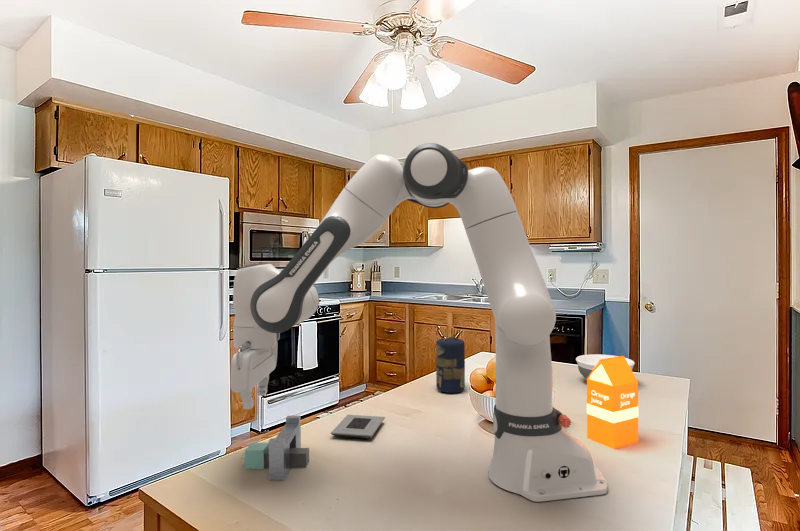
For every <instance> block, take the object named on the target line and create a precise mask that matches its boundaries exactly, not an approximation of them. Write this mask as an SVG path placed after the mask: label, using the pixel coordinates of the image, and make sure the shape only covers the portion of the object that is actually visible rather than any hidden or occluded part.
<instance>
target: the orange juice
mask: <svg viewBox="0 0 800 531" xmlns="http://www.w3.org/2000/svg"><path fill="white" fill-rule="evenodd" d="M618 356H619V355H618ZM625 358H626V357H625V355H621V356H619V357H613V358H606V359H600V360H599V362H598V363H597V365H596V366H595V368H594V369H593V371H592V372H591V374H590V375H589V377H588V378H587V379H586V418H587V419H586V438H587V439H588V440H591V441H594V442H596V443H598V444H601V445H602V446H605V447H607V448H610V449H613V450H615V449H618V448H623V447H626V446H628V445H632V444H635V443H639V381H638V380H637V378H636V376H635V374H634V372H633V369H632V370H631V368H630V367H629V365H628V363H627V361H626V359H625Z"/></svg>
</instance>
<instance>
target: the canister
mask: <svg viewBox="0 0 800 531" xmlns="http://www.w3.org/2000/svg"><path fill="white" fill-rule="evenodd" d="M465 344H466V343H465V341H464V340H463V339H460V338H458V337H454V336H449V337H446V338H440V339H438V340H437V341H436V344H435V350H436V351H435V353H436V356H435V359H436V360H435V365H436V373H435V376H436V378H435V379H436V380H435V383H436V389H437V390H438V391H440V392H441V393H442V392H443V393H448V394H450V393H451V394H452V393H453V394H456V393H461V392H463V391H464V390H465V388H466V387H465V386H466V385H465V384H466V382H465V380H466V378H465V377H466V376H465V375H466V374H465V372H466V371H465V370H466V369H465V368H466V367H465V366H466V364H465V363H466V362H465V361H466V358H465V357H466V356H465V355H466V354H465V353H466V352H465V351H466V350H465V349H466V348H465V347H466V345H465Z"/></svg>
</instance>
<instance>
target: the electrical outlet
mask: <svg viewBox="0 0 800 531" xmlns="http://www.w3.org/2000/svg"><path fill="white" fill-rule="evenodd" d="M385 417H386V416H376V415H375V416H374V415H361V414H359V415H358V414H347V415H346V416H345V417H344V418H343V419H342V420H341V421H340V422H339V423H338V425H337V426H335V428H334V429H333V430H332V431H331V432H330V434H331V435H332V436H335V437H345V438H346V437H347V438H361V439H362V438H364V439H372V437H373V436H374V435H375V433H376V432H377V430H378V429H379V427H380V426H381V424H382V423H383V421H384V420H386V418H385Z"/></svg>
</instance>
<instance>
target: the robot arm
mask: <svg viewBox="0 0 800 531" xmlns="http://www.w3.org/2000/svg"><path fill="white" fill-rule="evenodd" d="M406 200H407V201H409V202H411V203H414V204H418V205H419V206H420V205H421V207H425V208H429V209H439V208H440V209H441V208H443V207H446V206H447V205H449V204H451V205H452V206H454V207H455V209H456V211H457V212H458V214H459V217H460V219H461V221H462V225H463V228H464V230H465V233H466V236H467V238H468V242H469V245H470V248H471V251H472V254H473V257H474V259H475V262H476V265H477V267H478V271H479V274H480V278H481V280H482V284H483V287H484V291H485V293H486V296H487V299H488V302H489V305H490V308H491V312H492V315H493V318H494V321H495V322H494V324H495V325H494V326H495V329H494V330H495V332H494V333H495V337H494V338H495V339H494V340H495V345H494V346H495V404H494V406H493V413H492V415H493V416H492V418H493V420H492V421H493V422H492V423H493V424H492V425H493V426H492V428H493V434H494V443H493V451H492V452H493V453H492V456H491V457H492V458H491V462H490V465H489V470H488V472H487V475H488V478H489V480H490V481H491V482H492V483H493V484H494V485H496V486H497V487H498V488H501V489H502V490H506V491H507V492H511V493H515V494H516V495H517V494H518V495H520V496H523V497H524V498H526V499H528V500H530V501H532V502H537V503H538V502H539V503H541V502H548V501H556V500H557V501H558V500H565V499H576V498H583V497H591V496H602V495H605V494H607V493H608V490H609V488H608V487H609V486H608V481H607V478H606V477H605V476H604V474H603V473H602V472H601V471H600V470H599V469H598V468H597V467H596V466H595V463H594V460H593V457H592V454H591V452H590V450H589V449H588V448H587V446H585V444H584V443H583V442H581V440H579V439H578V438H577V437H576V436H575V435H573V434H572V433H570V432H569V431H568V430H566V429H565V428H570V426H571V425H572V420H571V419H570V417H569V416H567V415H566V414H563V413H562V412H561V411H560V410H559V409H556V408H555V407H554V406H553V404H554V402H553V400H554V398H553V394H554V392H553V390H554V389H553V387H554V386H553V384H554V382H553V380H554V378H553V365H552V352H551V341H550V340H551V338H550V337H551V336H550V335H551V333H552V331H553V330H554V327H555V324H556V321H557V313H556V309H555V305H554V303H553V300H552V297H551V295H550V292H549V290H548V286H547V284H546V282H545V280H544V276H543V274H542V272H541V270H540V267H539V264H538V262H537V259H536V258H535V256H534V255H535V254H534V252H533V250H532V248H531V244H530V242H529V239H528V237H527V236H528V235H527V233H526V231H525V228H524V225H523V223H522V220H521V217H520V214H519V211H518V209H517V205H516V203H515V200H514V198H513V196H512V194H511V192H510V190H509V187H508V185H506V182H505V181H504V179H503V177H502V176H501V174H500V172H498V170H496V169H495V168H493V167H490V166H478V167H474V168H471V169H469V168H468V164H466V163H465V162H464V161H463V160H462V159H460V158H459V157H458V156H457V155H456V154H454V153H453V151H452V150H449V149H448V148H447V147H445V146H443V145H441V144H438V143H435V142H426V143H423V144H420V145H418V146H416V147H415V148H413V149H412V150H411V151H410V152H409V153H408V154H407V156H406V158H405V160H404V162H402V161H400V160H398V159H397V158H396V157H393V156H391V155H388V154H384V153H383V154H382V153H381V154H379V153H378V154H376V155H374V156H372V157H370V158H369V160H367V162H365V163H364V164H363V165H362V166H361V167H360V168H359V169H358V170H357V171H356V172H355V174H353V176H352V177H351V178H350V179H349V181H348V182H347V183H346V185H345V186H344V187H343V189H342V190H341V192H340V193H339V194H338V196H337V197H336V199H335V200H334V202H333V203H332V205H331V206H330V208H329V209H328V211H327V212H326V214H325V215H324V217H323V219H322V220H321V221H320V222H319V224H318V226H317V227H316V228H315V230H314V231H313V232H312V234H311V235H310V236H309V237H308V238H307V240H306V241H305V242H304V243H303V245H301V247H300V248H299V250H298V251H296V253H294V254H295V255H294V256H293V257H292V258H291V260H289V262H288V263H287V264H286V265H285V267H284V268H283V269H282V270H280V269H278V268H276V267H275V266H274V265H273V264H271V263H270V262H269V263H268V262H260V263H252V264H248V265H244V266H241V267H240V268H239V269H237V271H236V273H235V275H234V279H233V290H232V291H233V292H232V306H233V310H234V320H233V325H232V327H233V328H232V329H233V341H232V342H233V348H234V349H238V350H237V351H236V353H234V355H232V359H231V364H230V382H229V384H230V385H229V386H230V390H231V392H233V393H239V395H240V397H241V401H242V409H244V410H251V409H252V408H253V407H254V403H255V402H254V398H253V397H252V395H253V389H254V388H255V387H256V386H257V385H258V387H257V396H265V395H266V394H267V393H268V384H269V380H270V374H271V373H272V372H273V371H274V370H275V369H276V367H277V362H278V341H279V340H280V337H281V335H280V334H282V333H284V332H287V331H289V330H290V329H291V328H292V327H294V326H296V325H298V324H301V323H302V322H304V321H307V320H308V319H310V318H311V317H312V316H314V314H315V313H316V312H317V311H318V309H319V305H320V295H319V291H318V289H317V288H316V287H315V283H316V282H317V281H318V280H319V278H320V277H321V276H322V274H324V272H325V271H326V270H327V269H328V267H329V266H330V265H331V264H332V263H333V261H334V260H336V258H338V257H339V256H340V255H342V254H343V253H345V252H347V251H349V250H350V249H353V248H356V247H358V246H360V245H362V244H364V243H366V242H367V241H369V240H370V238H372V237H373V236H374V235H375V234H376V233H377V232H378V231H379V229H381V228H382V227H383V225H384V224H385V222H386V221H387V219H388V218H389V217H390V216H391V214H392V213H393V211H394V210H395V209H396V208H397V207H398V205H400V203H402V202H403V201H406Z"/></svg>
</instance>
